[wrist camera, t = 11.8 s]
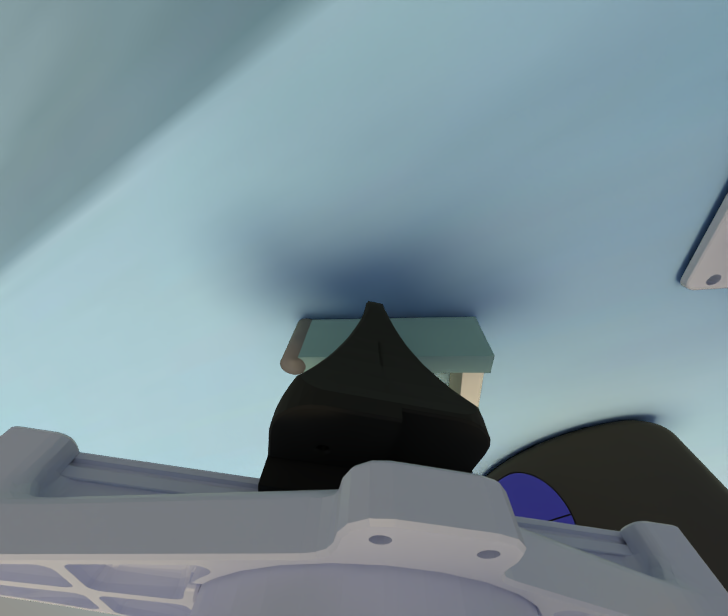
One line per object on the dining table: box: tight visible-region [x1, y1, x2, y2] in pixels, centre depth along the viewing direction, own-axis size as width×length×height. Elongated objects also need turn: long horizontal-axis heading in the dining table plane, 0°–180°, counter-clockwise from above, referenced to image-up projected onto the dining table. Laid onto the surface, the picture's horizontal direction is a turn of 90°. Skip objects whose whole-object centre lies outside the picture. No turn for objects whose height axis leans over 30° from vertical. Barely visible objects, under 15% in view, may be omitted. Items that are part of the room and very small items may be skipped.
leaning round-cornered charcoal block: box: [486, 420, 728, 592], centre depth 18 cm, size 16×5×9 cm, turn 146°
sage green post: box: [280, 317, 494, 375], centre depth 14 cm, size 10×1×3 cm, turn 94°
